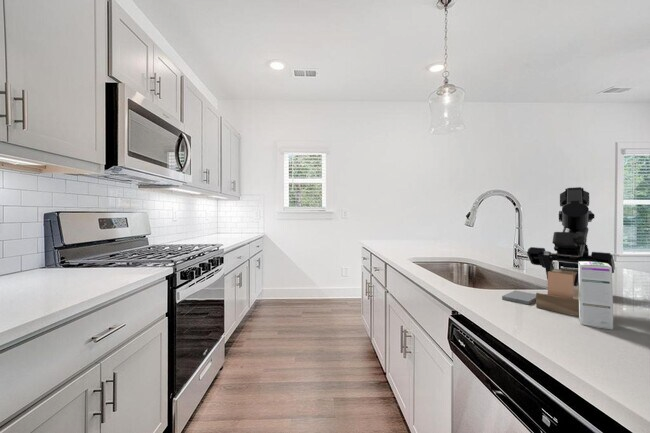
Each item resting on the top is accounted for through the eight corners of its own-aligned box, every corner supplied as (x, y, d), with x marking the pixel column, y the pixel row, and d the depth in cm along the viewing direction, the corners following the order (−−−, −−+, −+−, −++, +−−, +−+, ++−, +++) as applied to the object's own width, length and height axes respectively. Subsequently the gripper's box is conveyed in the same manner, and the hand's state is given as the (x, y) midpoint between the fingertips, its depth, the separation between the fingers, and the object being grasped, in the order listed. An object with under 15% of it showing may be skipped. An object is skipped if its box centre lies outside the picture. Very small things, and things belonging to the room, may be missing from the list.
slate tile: (515, 293, 96) (515, 290, 96) (540, 298, 91) (540, 294, 91) (502, 299, 90) (502, 296, 90) (528, 304, 85) (528, 301, 85)
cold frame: (547, 300, 88) (547, 287, 88) (590, 308, 81) (590, 294, 81) (536, 307, 82) (536, 293, 82) (581, 316, 75) (581, 301, 75)
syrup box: (614, 330, 66) (614, 266, 66) (579, 324, 70) (579, 263, 70) (609, 322, 71) (610, 262, 71) (577, 317, 74) (577, 260, 74)
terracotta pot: (554, 303, 85) (554, 268, 85) (578, 308, 81) (578, 271, 81) (547, 307, 82) (547, 271, 82) (573, 312, 78) (572, 274, 77)
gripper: (529, 221, 91) (514, 260, 84) (612, 222, 76) (603, 270, 70) (538, 244, 96) (525, 283, 89) (618, 249, 81) (610, 297, 74)
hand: (561, 283), depth 81 cm, fingers closed on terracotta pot, 5 cm apart
